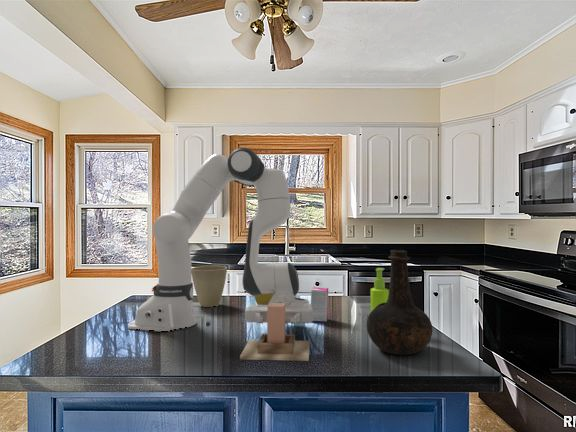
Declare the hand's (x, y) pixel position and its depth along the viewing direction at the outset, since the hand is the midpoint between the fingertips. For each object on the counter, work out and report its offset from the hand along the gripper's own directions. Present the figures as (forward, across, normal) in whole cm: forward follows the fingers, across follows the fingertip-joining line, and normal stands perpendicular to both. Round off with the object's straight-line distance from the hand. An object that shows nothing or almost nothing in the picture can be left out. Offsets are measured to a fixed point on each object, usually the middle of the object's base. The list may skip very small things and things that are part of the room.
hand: (276, 320), depth 112 cm
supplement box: (-32, +12, +8) cm, 35 cm away
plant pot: (-53, -34, +8) cm, 64 cm away
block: (+1, 0, +8) cm, 8 cm away
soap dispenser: (-23, +32, +8) cm, 41 cm away
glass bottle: (-2, +34, +8) cm, 35 cm away
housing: (+1, 0, +8) cm, 8 cm away
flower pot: (-54, -10, +8) cm, 56 cm away
